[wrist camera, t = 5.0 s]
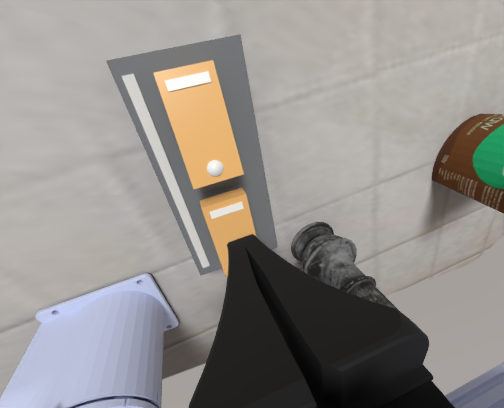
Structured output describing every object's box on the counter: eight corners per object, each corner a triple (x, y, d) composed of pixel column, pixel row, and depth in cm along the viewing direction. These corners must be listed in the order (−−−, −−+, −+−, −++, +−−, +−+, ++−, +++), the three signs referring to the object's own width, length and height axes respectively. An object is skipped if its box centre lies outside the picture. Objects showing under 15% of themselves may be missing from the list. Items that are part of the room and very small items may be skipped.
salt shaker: (342, 239, 27) (445, 333, 17) (304, 270, 27) (381, 380, 17) (322, 209, 24) (432, 301, 14) (279, 244, 24) (355, 359, 14)
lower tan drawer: (222, 266, 18) (225, 276, 17) (199, 200, 15) (201, 208, 14) (257, 253, 19) (262, 262, 18) (241, 187, 16) (246, 194, 15)
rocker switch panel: (215, 295, 25) (221, 324, 22) (118, 65, 14) (102, 59, 11) (274, 272, 26) (288, 297, 23) (228, 42, 15) (243, 32, 12)
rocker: (193, 185, 14) (193, 189, 13) (156, 79, 12) (152, 72, 11) (239, 171, 14) (244, 174, 13) (211, 67, 13) (213, 59, 11)
